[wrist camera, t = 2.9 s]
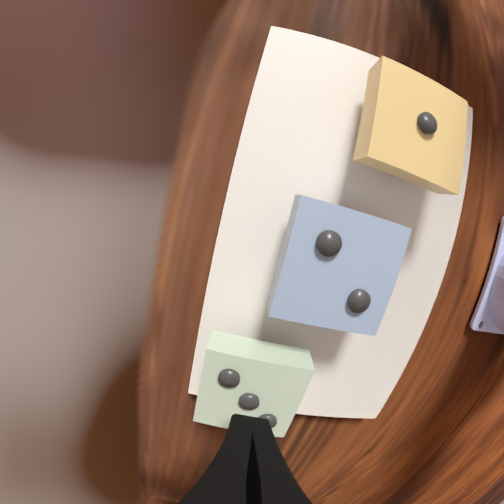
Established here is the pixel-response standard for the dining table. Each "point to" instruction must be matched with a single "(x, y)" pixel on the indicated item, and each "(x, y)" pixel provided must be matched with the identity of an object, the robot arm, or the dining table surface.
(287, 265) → the tile two
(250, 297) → the panel
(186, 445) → the dining table surface
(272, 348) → the tile three
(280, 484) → the robot arm
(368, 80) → the tile one
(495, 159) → the dining table surface
